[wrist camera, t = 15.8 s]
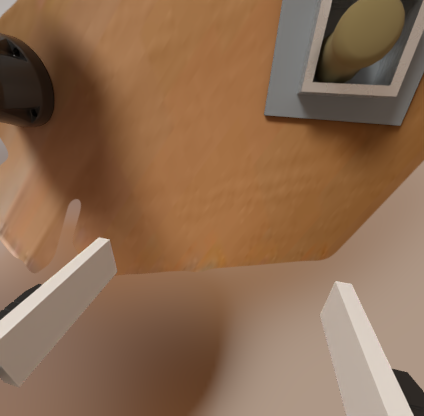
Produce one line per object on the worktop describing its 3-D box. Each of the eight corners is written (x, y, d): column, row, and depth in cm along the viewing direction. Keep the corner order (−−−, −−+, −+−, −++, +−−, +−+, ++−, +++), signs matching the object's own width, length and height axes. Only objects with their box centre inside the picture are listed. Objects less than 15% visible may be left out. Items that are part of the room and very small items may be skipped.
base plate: (264, 114, 32) (264, 115, 31) (287, -30, 25) (288, -35, 24) (396, 125, 29) (400, 125, 28) (467, -40, 22) (475, -46, 21)
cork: (328, 96, 28) (355, 87, 19) (302, 59, 27) (316, 28, 18) (376, 59, 25) (436, 25, 16) (349, 15, 25) (396, -49, 15)
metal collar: (296, 93, 29) (301, 91, 25) (317, -2, 25) (327, -25, 20) (376, 98, 27) (396, 96, 23) (414, -5, 23) (448, -31, 18)
